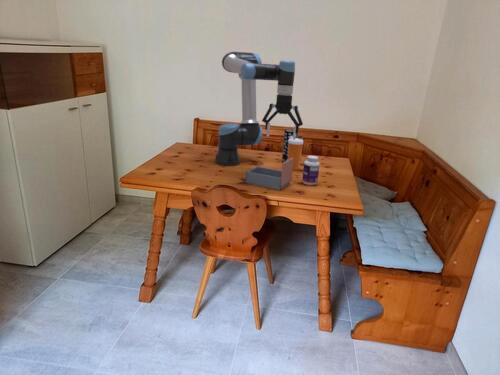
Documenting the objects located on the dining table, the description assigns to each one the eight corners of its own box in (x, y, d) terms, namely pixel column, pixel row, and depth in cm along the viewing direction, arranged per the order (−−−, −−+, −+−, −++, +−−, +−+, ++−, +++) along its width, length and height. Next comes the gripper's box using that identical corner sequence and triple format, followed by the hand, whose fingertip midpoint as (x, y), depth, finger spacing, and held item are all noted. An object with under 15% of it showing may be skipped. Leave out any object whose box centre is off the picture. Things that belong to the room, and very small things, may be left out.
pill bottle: (300, 180, 188) (303, 154, 183) (314, 181, 189) (318, 155, 184) (303, 185, 180) (306, 158, 175) (318, 186, 181) (322, 159, 176)
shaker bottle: (300, 171, 204) (303, 137, 198) (284, 169, 206) (288, 136, 199) (300, 167, 213) (304, 135, 206) (286, 165, 214) (289, 133, 207)
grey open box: (245, 182, 179) (245, 171, 177) (256, 176, 190) (257, 166, 188) (279, 190, 171) (280, 178, 169) (288, 183, 182) (290, 172, 180)
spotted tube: (296, 161, 226) (299, 130, 219) (293, 164, 219) (296, 132, 212) (283, 159, 228) (286, 129, 222) (280, 162, 221) (283, 131, 214)
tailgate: (280, 187, 170) (282, 163, 166) (289, 180, 182) (292, 157, 178) (282, 188, 170) (284, 163, 166) (291, 181, 181) (294, 157, 177)
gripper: (257, 92, 169) (255, 136, 176) (309, 97, 162) (304, 142, 169) (262, 92, 176) (259, 133, 183) (311, 96, 169) (306, 139, 176)
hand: (280, 137), depth 176 cm, fingers open, 13 cm apart
